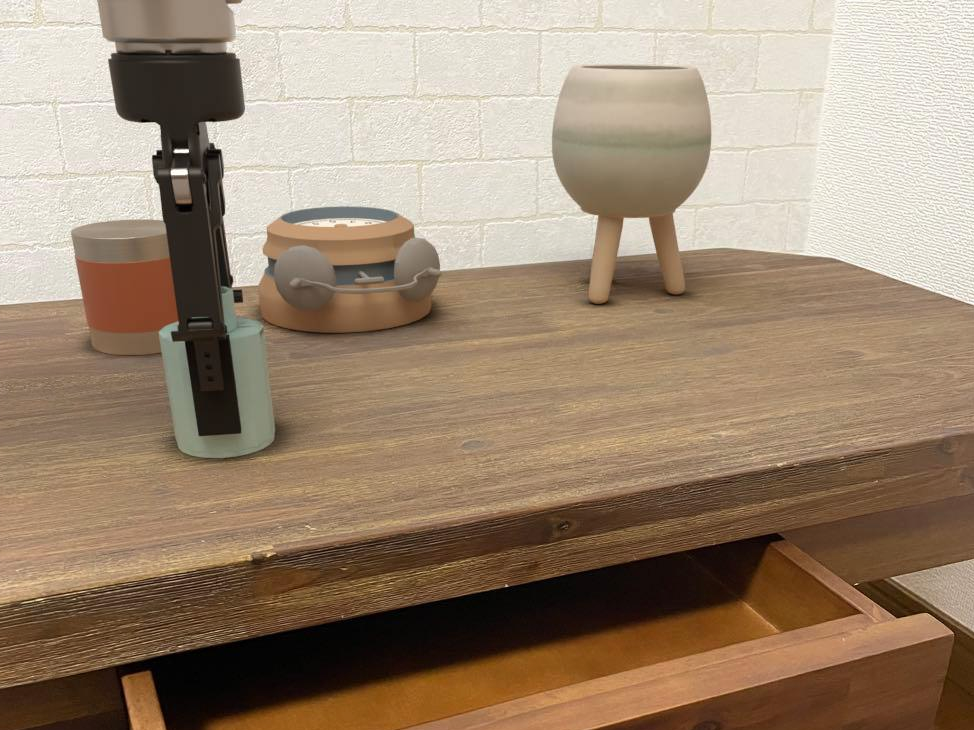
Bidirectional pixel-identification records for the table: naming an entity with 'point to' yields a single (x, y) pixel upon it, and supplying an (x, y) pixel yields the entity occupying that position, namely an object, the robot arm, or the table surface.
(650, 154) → the planter
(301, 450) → the table surface
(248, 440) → the bottle
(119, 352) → the tin can
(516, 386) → the table surface
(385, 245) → the alarm clock
